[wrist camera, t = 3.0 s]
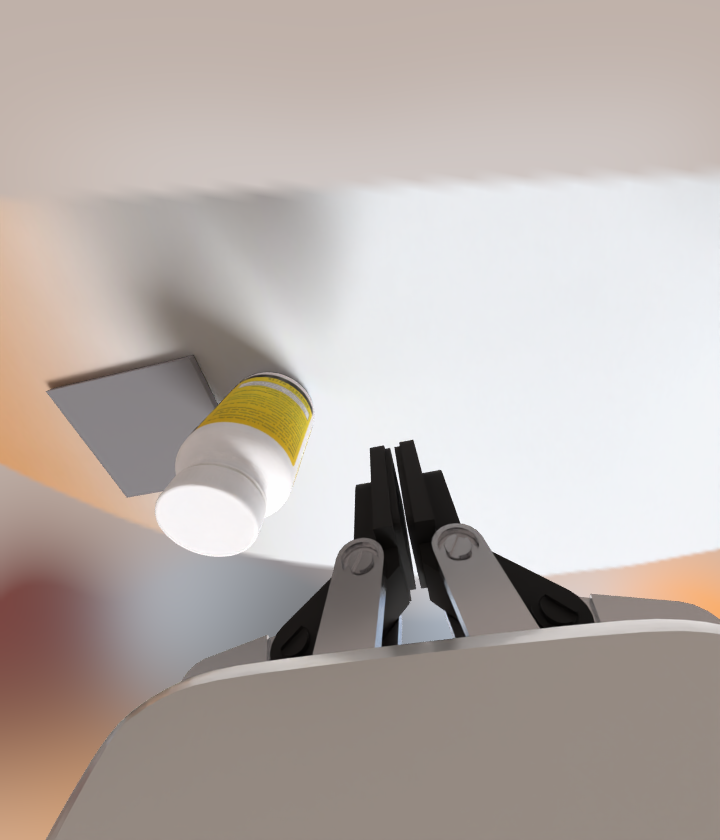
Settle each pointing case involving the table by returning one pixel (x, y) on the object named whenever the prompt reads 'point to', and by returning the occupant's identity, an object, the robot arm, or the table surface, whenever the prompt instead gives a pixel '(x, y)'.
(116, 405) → the mat
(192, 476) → the supplement bottle
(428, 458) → the table surface
